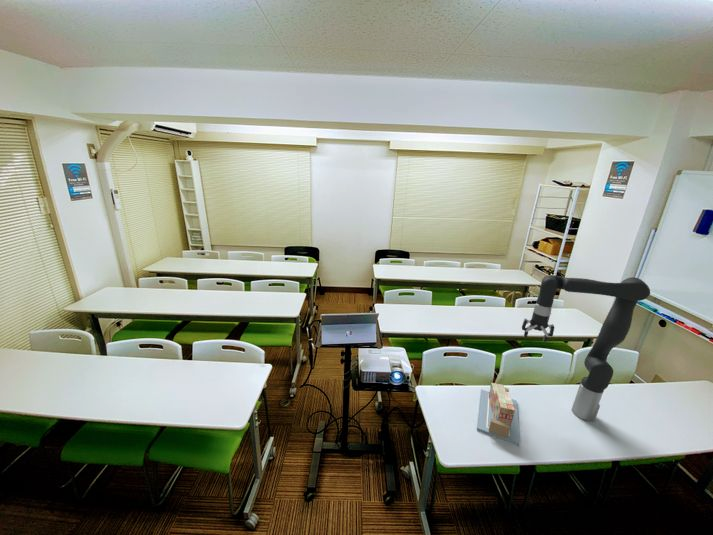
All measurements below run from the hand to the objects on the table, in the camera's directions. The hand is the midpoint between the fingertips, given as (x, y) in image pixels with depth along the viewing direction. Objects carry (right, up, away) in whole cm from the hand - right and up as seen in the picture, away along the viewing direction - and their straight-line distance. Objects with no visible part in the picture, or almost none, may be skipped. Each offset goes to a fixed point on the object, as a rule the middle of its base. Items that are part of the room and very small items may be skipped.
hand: (534, 339), depth 156 cm
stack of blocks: (-24, -35, -9) cm, 44 cm away
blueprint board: (-25, -36, -9) cm, 45 cm away
